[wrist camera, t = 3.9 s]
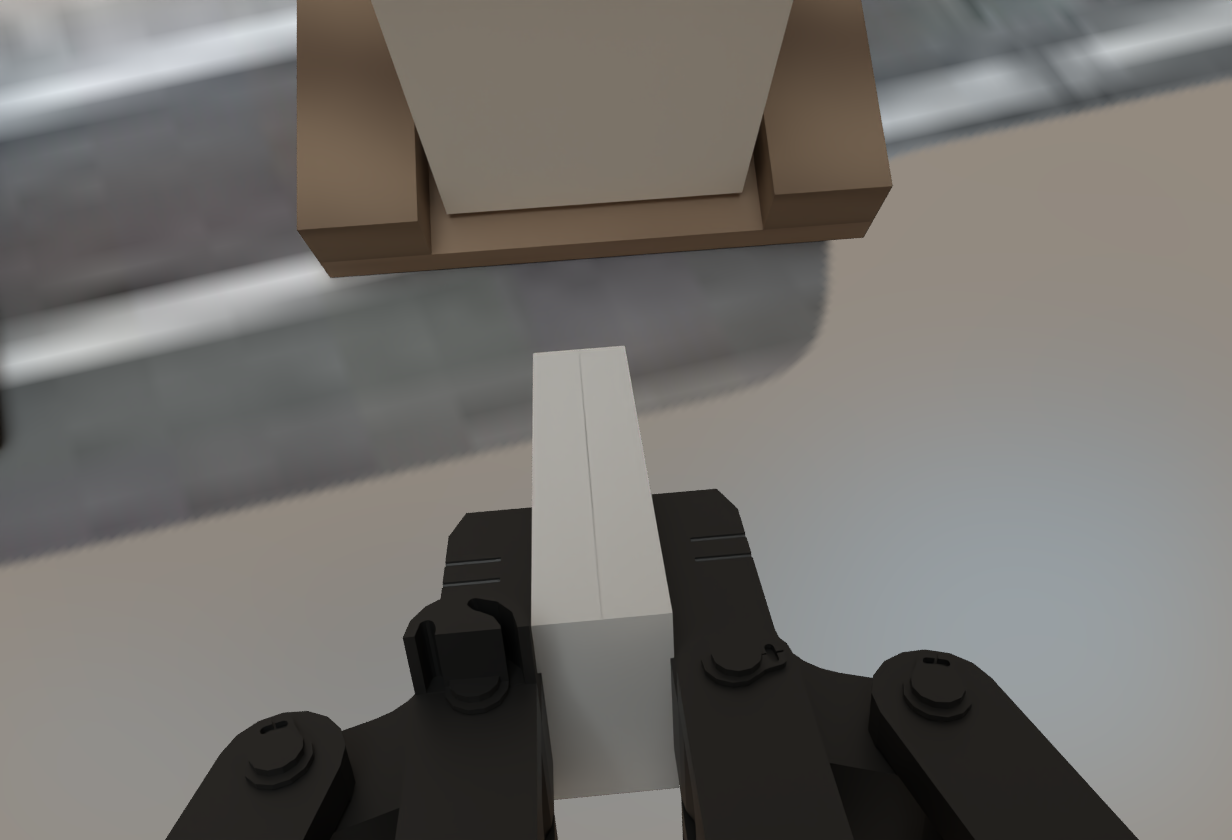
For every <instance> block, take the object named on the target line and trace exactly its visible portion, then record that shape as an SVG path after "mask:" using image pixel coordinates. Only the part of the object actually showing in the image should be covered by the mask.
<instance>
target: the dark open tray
mask: <svg viewBox="0 0 1232 840" xmlns="http://www.w3.org/2000/svg"><path fill="white" fill-rule="evenodd" d="M891 188H892V180H891V174H890V169H889V162H888V156H887V150H886V144H885V138H884V132H883V127H882V121H881V115H880V109H879V103H878V97H877V91H876V85H875V79H874V74H873V68H872V62H871V56H870V50H869V44H868V38H867V32H866V26H865V21H864V15H863V9H862V3H861V0H793V3H792V7H791V11H790V14H789V18H788V22H787V26H786V29H785V33H784V37H783V41H782V44H781V48H780V52H779V56H778V59H777V63H776V67H775V71H774V74H773V78H772V82H771V86H770V89H769V93H768V97H767V101H766V105H765V108H764V112H763V116H762V120H761V123H760V127H759V131H758V135H757V138H756V142H755V146H754V150H753V153H752V157H751V161H750V165H749V168H748V172H747V176H746V180H745V183H744V187H743V191H742V193H729V194H716V195H702V196H689V197H675V198H661V199H648V200H634V201H621V202H607V203H593V204H580V205H566V206H553V207H539V208H525V209H512V210H498V211H485V212H471V213H458V214H447V213H446V210H445V207H444V204H443V202H442V199H441V196H440V193H439V190H438V188H437V185H436V182H435V179H434V176H433V173H432V171H431V168H430V165H429V162H428V159H427V157H426V154H425V151H424V148H423V145H422V143H421V140H420V137H419V134H418V131H417V128H416V126H415V123H414V120H413V117H412V114H411V112H410V109H409V106H408V103H407V100H406V98H405V95H404V92H403V89H402V86H401V83H400V81H399V78H398V75H397V72H396V69H395V67H394V64H393V61H392V58H391V55H390V53H389V50H388V47H387V44H386V41H385V38H384V36H383V33H382V30H381V27H380V24H379V22H378V19H377V16H376V13H375V10H374V8H373V5H372V2H371V0H297V231H298V232H299V234H300V235H301V236H302V238H303V239H304V241H305V242H306V244H307V245H308V246H309V248H310V249H311V251H312V252H313V254H314V255H315V256H316V258H317V259H318V261H319V262H320V264H321V265H322V266H323V268H324V269H325V271H326V272H327V274H328V275H329V276H330V277H344V276H357V275H370V274H384V273H397V272H410V271H424V270H437V269H450V268H464V267H477V266H491V265H504V264H517V263H531V262H544V261H557V260H571V259H584V258H597V257H611V256H624V255H637V254H651V253H664V252H677V251H691V250H704V249H717V248H731V247H744V246H757V245H771V244H784V243H797V242H811V241H824V240H837V239H851V238H863V237H864V236H865V234H866V232H867V230H868V229H869V227H870V225H871V223H872V222H873V220H874V218H875V216H876V214H877V213H878V211H879V209H880V207H881V206H882V204H883V202H884V200H885V198H886V197H887V195H888V193H889V192H890V190H891Z"/></svg>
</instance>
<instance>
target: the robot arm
mask: <svg viewBox="0 0 1232 840" xmlns="http://www.w3.org/2000/svg"><path fill="white" fill-rule="evenodd" d="M532 449H533V450H532V451H533V453H532V508H521V509H509V510H498V511H486V512H476V513H466V515H465V516H464V517H463V518H462V520H461V521H460V522H459V524H458V525H457V527H456V528H455V529H454V531H453V532H452V533H451V534H450V536H449V539H448V547H447V554H446V567H445V570H444V577H443V588H442V593H441V599H440V600H438V601H436V602H434V603H432V604H430V605H428V606H426V607H425V608H424V609H422V610H421V611H420V612H419V613H418V614H417V615H416V616H415V617H414V618H413V619H412V620H411V621H410V623H409V625H408V627H407V629H406V632H405V634H404V636H403V641H404V645H405V650H406V654H407V659H408V664H409V668H410V673H411V677H412V682H413V686H414V691H415V695H414V696H413V697H412V698H411V699H410V700H409V701H408V702H406V703H404V704H403V705H402V706H400V707H398V708H397V709H395V710H394V711H393V712H390V713H388V714H386V715H383V716H381V717H379V718H377V719H374V720H372V721H369V722H366V723H363V724H360V725H357V726H355V727H352V728H349V729H346V730H343V731H341V728H339V727H338V726H337V725H336V724H335V723H334V722H333V721H332V720H331V719H329V718H328V717H327V716H323V715H320V714H316V713H312V712H309V711H304V712H303V711H302V712H287V713H281V714H278V715H275V716H273V717H270V718H267V719H264V720H261V721H259V722H257V723H256V724H254V725H252V726H251V727H249V728H248V729H246V730H245V731H243V732H241V733H240V734H238V735H237V736H236V737H235V738H234V739H233V740H232V741H231V743H230V744H229V745H228V746H227V747H226V748H225V749H224V750H223V752H222V753H221V754H220V755H219V757H218V758H217V760H216V761H215V763H214V765H213V766H212V768H211V769H210V771H209V772H208V774H207V775H206V777H205V779H204V780H203V782H202V783H201V785H200V787H199V788H198V790H197V791H196V793H195V794H194V796H193V797H192V799H191V800H190V802H189V803H188V805H187V807H186V808H185V810H184V811H183V813H182V814H181V816H180V818H179V819H178V821H177V822H176V824H175V825H174V827H173V829H172V830H171V832H170V833H169V835H168V836H167V838H166V839H165V840H558V838H557V830H556V823H555V815H554V800H558V799H568V798H578V797H588V796H598V795H609V794H619V793H630V792H640V791H650V790H660V789H670V788H679V785H680V791H681V799H682V826H683V840H1139V839H1138V838H1137V837H1136V836H1135V835H1134V834H1133V833H1132V832H1131V831H1130V830H1129V829H1128V827H1127V826H1126V825H1125V824H1124V823H1123V822H1122V821H1121V820H1120V819H1119V818H1118V817H1117V815H1116V814H1115V813H1114V812H1113V811H1112V810H1111V809H1110V808H1109V807H1108V805H1107V804H1106V803H1105V802H1104V801H1103V800H1102V799H1101V798H1100V797H1099V796H1098V794H1097V793H1096V792H1095V791H1094V790H1093V789H1092V788H1091V787H1090V786H1089V785H1088V783H1087V782H1086V781H1085V780H1084V779H1083V778H1082V777H1081V776H1080V775H1079V774H1078V772H1077V771H1076V770H1075V769H1074V768H1073V767H1072V766H1071V765H1070V764H1069V763H1068V761H1066V759H1065V758H1064V757H1063V756H1062V755H1061V754H1060V753H1059V752H1058V751H1057V749H1056V748H1055V747H1054V746H1053V745H1052V744H1051V743H1050V742H1049V741H1048V740H1047V738H1046V737H1045V736H1044V735H1043V734H1042V733H1041V732H1040V731H1039V730H1038V729H1037V727H1036V726H1035V725H1034V724H1033V723H1032V722H1031V721H1030V720H1029V719H1028V718H1027V717H1026V715H1025V714H1024V713H1023V712H1022V711H1021V710H1020V709H1019V708H1018V707H1017V705H1016V704H1015V703H1014V702H1013V701H1012V700H1011V699H1010V698H1009V697H1008V696H1007V694H1006V693H1005V692H1004V691H1003V690H1002V689H1001V688H1000V687H999V686H998V685H997V683H996V682H995V681H994V680H993V679H992V678H991V677H990V676H988V675H987V674H986V673H985V672H983V671H982V670H981V669H980V668H978V667H977V666H976V665H974V664H973V663H972V662H969V661H967V660H964V659H962V658H959V657H957V656H955V655H952V654H950V653H944V652H938V651H930V650H918V651H910V652H902V653H900V654H898V655H896V656H894V657H892V658H890V659H888V660H886V661H884V662H883V663H882V665H881V666H880V667H879V669H878V670H877V671H876V673H875V674H874V675H873V678H869V677H863V676H856V675H850V674H843V673H838V672H833V671H830V670H825V669H821V668H819V667H816V666H814V665H812V664H810V663H807V662H805V661H803V660H802V659H800V658H799V657H797V656H796V655H795V654H793V653H792V651H791V650H790V648H789V646H788V645H787V643H786V642H784V641H783V640H782V639H780V638H779V637H778V635H777V633H776V631H775V629H774V625H773V622H772V619H771V616H770V612H769V609H768V606H767V603H766V599H765V596H764V593H763V590H762V586H761V583H760V580H759V577H758V573H757V570H756V567H755V564H754V560H753V558H752V557H751V551H750V547H749V544H748V541H747V538H746V537H745V532H744V528H743V525H742V521H741V518H740V515H739V512H738V509H737V508H736V507H735V506H734V505H733V504H732V503H731V502H730V501H729V500H728V499H727V498H726V497H725V496H724V495H723V494H721V493H720V492H719V491H718V490H717V489H709V490H697V491H686V492H676V493H663V494H652V495H651V491H650V485H649V479H648V474H647V468H646V463H645V457H644V451H643V446H642V441H641V434H640V429H639V423H638V418H637V412H636V406H635V401H634V395H633V390H632V384H631V378H630V373H629V367H628V362H627V356H626V351H625V346H614V347H602V348H590V349H578V350H566V351H554V352H542V353H533V443H532Z"/></svg>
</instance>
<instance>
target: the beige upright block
mask: <svg viewBox="0 0 1232 840" xmlns="http://www.w3.org/2000/svg"><path fill="white" fill-rule="evenodd" d="M371 2H372V5H373V8H374V10H375V13H376V16H377V19H378V22H379V24H380V27H381V30H382V33H383V36H384V38H385V41H386V44H387V47H388V50H389V53H390V55H391V58H392V61H393V64H394V67H395V69H396V72H397V75H398V78H399V81H400V83H401V86H402V89H403V92H404V95H405V98H406V100H407V103H408V106H409V109H410V112H411V114H412V117H413V120H414V123H415V126H416V128H417V131H418V134H419V137H420V140H421V143H422V145H423V148H424V151H425V154H426V157H427V159H428V162H429V165H430V168H431V171H432V173H433V176H434V179H435V182H436V185H437V188H438V190H439V193H440V196H441V199H442V202H443V204H444V207H445V210H446V213H447V214H458V213H471V212H485V211H498V210H512V209H525V208H539V207H553V206H566V205H580V204H593V203H607V202H621V201H634V200H648V199H661V198H675V197H689V196H702V195H716V194H729V193H742V191H743V187H744V183H745V180H746V176H747V172H748V168H749V165H750V161H751V157H752V153H753V150H754V146H755V142H756V138H757V135H758V131H759V127H760V123H761V120H762V116H763V112H764V108H765V105H766V101H767V97H768V93H769V89H770V86H771V82H772V78H773V74H774V71H775V67H776V63H777V59H778V56H779V52H780V48H781V44H782V41H783V37H784V33H785V29H786V26H787V22H788V18H789V14H790V11H791V7H792V3H793V0H371Z"/></svg>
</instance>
